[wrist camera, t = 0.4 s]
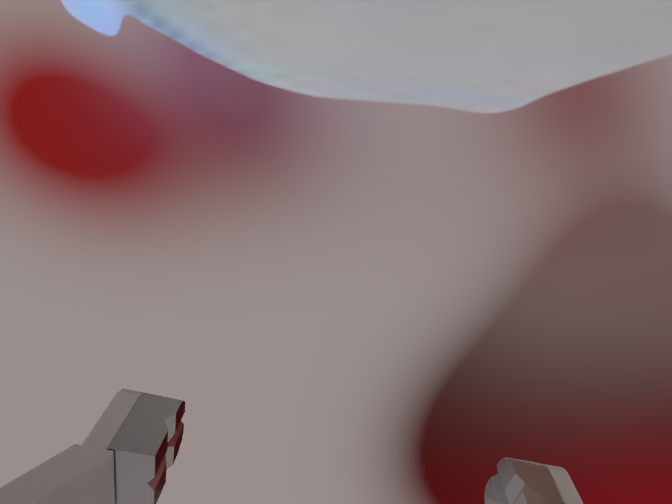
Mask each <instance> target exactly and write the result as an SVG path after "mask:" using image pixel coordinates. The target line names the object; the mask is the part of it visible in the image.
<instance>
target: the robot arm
mask: <svg viewBox="0 0 672 504" xmlns="http://www.w3.org/2000/svg"><path fill="white" fill-rule="evenodd" d="M184 412H185V401H182V400H178V399H173V398H168V397H163V396H158V395H153V394H149V393H143V392H137V391H132V390H127V389H122V390H121V391H119V392H118V393H117V394H116V395H115V397H114V398H113V400H112V401H111V403H110V404H109V406H108V407H107V409H106V410H105V412H104V413H103V414H102V416H101V417H100V419H99V420H98V422H97V423H96V425H95V426H94V428H93V429H92V431H91V432H90V433H89V435H88V437H87V438H86V439H85V441H84V442H83V444H82V445H77V444H74V445H73V446H71V447H69V448H68V449H66V450H64V451H63V452H61V453H59V454H57V455H56V456H54V457H52V458H50V459H49V460H47V461H45V462H44V463H42V464H40V465H38V466H37V467H35V468H33V469H32V470H30V471H28V472H26V473H25V474H23V475H21V476H20V477H18V478H16V479H14V480H13V481H11V482H9V483H8V484H6V485H4V486H2V487H1V488H0V504H156V503H157V501H158V498H159V496H160V494H161V491H162V489H163V487H164V484H165V482H166V469H168V468H169V467H170V466H172V465H173V463H174V461H175V458H176V456H177V454H178V451H179V447H180V444H181V441H182V436H183V430H184V424H183V422H182V421H181V419H182V417H183V414H184ZM497 469H498V472H499V474H497V475H495V476H493V477H491V478H490V479H489V481H488V484H487V485H486V489H485V504H583V502H582V500H581V498H580V496H579V494H578V493H577V490H576V489H575V487H574V485H573V483H572V481H571V479H570V477H569V475H568V473H567V472H566V471H565V470H564V469H563V468H562V467H557V466H551V465H545V464H540V463H535V462H529V461H523V460H517V459H511V458H503V459H502V460H500V462H499V464H498V465H497Z"/></svg>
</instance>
